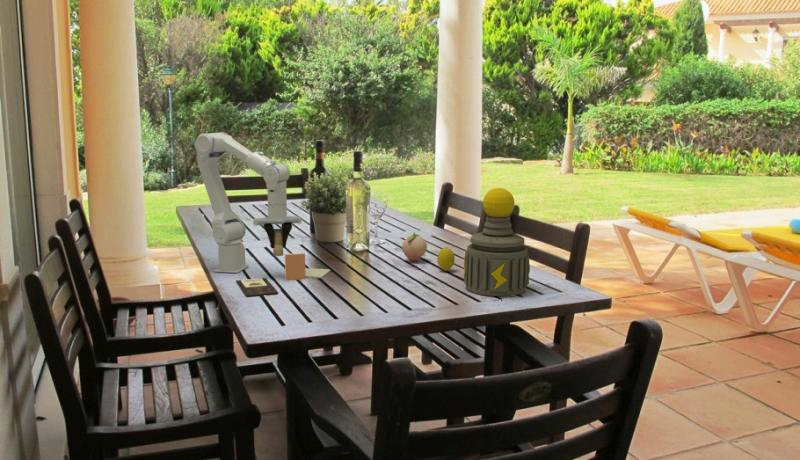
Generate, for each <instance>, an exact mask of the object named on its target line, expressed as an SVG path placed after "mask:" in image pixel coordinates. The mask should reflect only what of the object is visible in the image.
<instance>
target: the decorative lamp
mask: <svg viewBox="0 0 800 460" xmlns="http://www.w3.org/2000/svg"><path fill="white" fill-rule="evenodd" d="M482 208H483V211H484V212H485V214H486V220H485V222H484V228H482V232H477V233H476V234H473V235H471V236H470V239H469V242H470V243H471V244H469V245H467V247H466V251H465V253H464V259H463V261H464V262H463V283H464V285H465V288H466V289H467V290H468V291H469V292H470V293H473V294H476V295H479V296H484V295H485V296H484V297H492V296H497V297H496V298H502V297H501V296H509V297H514V296H513V295H516V296H519V295H522V294H524V292H526V289H527V287H528V286H529V284H530V271H531V267H530V253H529V252H528V248H527V247H526V246H525V237H523V236H522V235H519V234H517V233H514V231H513V228H512V227H513V226H512V222H510V221H511V218H510V215H512V213H513V211H514V208H515V198H514V195H513V194H512V193H511V192H510V190H507V189H505V188H504V187H503V188H501V187H495V188H491V190H488V191H487V192H486V194H484V198H483V199H482ZM518 294H519V295H518ZM499 296H500V297H499Z"/></svg>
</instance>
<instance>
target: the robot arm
mask: <svg viewBox="0 0 800 460" xmlns="http://www.w3.org/2000/svg"><path fill="white" fill-rule="evenodd" d="M193 145H194V148H195V150H196V155H197V160H196V161H197V167H198V169H199V171H200V175H201V178H202V181H203V183H204V187H205V189H206V192H207V193H206V194H207V196H208V199H209V202H210V205H211V208H212V210H213V214H214V217H213V219H212V221H211V223H210V224H211V228H212V233H211V234H212V237H213V240H214V241H215V242H216V245H217V250H218V251H217V254H218V267H217V268H215V269H214V270H213V272H214V273H231V274H232V273H233V274H238V273H241V271H243V270H245V269H246V268H249V265H248V264H246V247H245V245H244V244H243V238H244V237H245V236H246V230H247V229H246V226H245V224H244V223H243V222H242V221H241V219H240V216H239V215H238V213H236V212H234V211H233V210H232V207H231V204H230V201H229V197H228V194H227V192H226V189H225V186H224V183H223V180H222V177H221V174H220V171H219V168H218V165H217V164H218V163H219V160H220V159H221V158H222V157H223V155H225V154H226V152H227V153H229V154H231V155H233V156H234V157H237V158H239V159H240V160H242V161H244V162H246V166H247V168H248V169H250V170H251V171H253V172H255V173H257V174H258V175H259V176H261V177H262V178H263V181H264V182H265V185H266V189H267V190H266V192H267V217H266V216H265V217H256V218H252V222H253V224H252V225H253V227H254V226H256V227H257V226H263V228H264V230H265V232H266V235H267V237H268V241H269V246H270V248H271V249H273V248H274V229H275V228H274V225H281V229H283V249H285V248H287V241H288V238H289V235H290V234H291V231H292V229H293V224H299V225H300V224H302V223H303V222H302V216H299V215H298V216H288V212H287V211H288V209H287V208H288V207H287V206H288V204H287V201H288V200H287V193H288V192H287V181H288V180H289V178H290V175H291V172H290V169H289V167H288V166H287V164H285V162H284V163H282V162H280V163H277V161H276V160H275V159H271V158H269V157H267V156H266V155H265V152H264V151H254V152H252V151H251V150H250V149H248V148H247V147H245V146H243V145H242V144H241V143H239V142H238V141H237V140H235V139H234V138H233V136H232V135H229V134H227V133H225V132H224V131H220V132H211V133H210V132H209V133H206V132H202V133H200V134H199V135H198V136H197V138H196V140H195V142H194V144H193Z"/></svg>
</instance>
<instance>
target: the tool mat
mask: <svg viewBox="0 0 800 460" xmlns="http://www.w3.org/2000/svg"><path fill="white" fill-rule="evenodd" d="M329 272H331V269H329V268H328V269H327V268H309V267H308V268H307V267H305V278H311V279H313V278H314V279H323V278H324V277H325V276H326V275H327V274H328V273H329Z"/></svg>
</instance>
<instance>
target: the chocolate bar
mask: <svg viewBox="0 0 800 460" xmlns="http://www.w3.org/2000/svg"><path fill="white" fill-rule="evenodd" d="M235 283H236V284H237V286H238V288H239V289H240V291H241V292H242V293H243V294H244V296H245V298H254V297H255V298H256V297H264V295H267V296H276V295H277V294H278V295H279V292H278V291H277V289H276V288H275V287H274V286H273V284H272V283H270V281H269V279H267V277H261V278H249V279H239V280H237V279H236V280H235ZM278 295H277V296H278Z"/></svg>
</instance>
